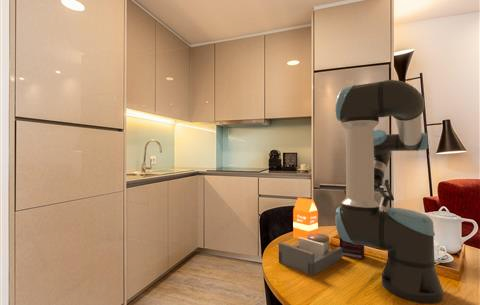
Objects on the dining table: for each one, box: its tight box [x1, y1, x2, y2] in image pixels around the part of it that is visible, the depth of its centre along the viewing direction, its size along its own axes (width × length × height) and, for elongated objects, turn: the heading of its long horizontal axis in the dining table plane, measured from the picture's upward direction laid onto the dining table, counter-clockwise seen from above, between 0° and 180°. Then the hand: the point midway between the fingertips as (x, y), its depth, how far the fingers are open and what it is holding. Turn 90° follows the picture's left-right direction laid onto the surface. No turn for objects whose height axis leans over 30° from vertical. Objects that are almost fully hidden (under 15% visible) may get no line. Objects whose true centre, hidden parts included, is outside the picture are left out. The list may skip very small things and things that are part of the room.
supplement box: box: [339, 237, 365, 260], centre depth 97 cm, size 9×5×16 cm, turn 58°
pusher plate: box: [297, 237, 325, 259], centre depth 92 cm, size 10×1×7 cm, turn 41°
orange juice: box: [292, 197, 319, 240], centre depth 118 cm, size 8×9×20 cm
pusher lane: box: [278, 242, 343, 277], centre depth 92 cm, size 14×21×8 cm, turn 131°
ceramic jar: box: [307, 232, 330, 253], centre depth 95 cm, size 8×8×8 cm
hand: (362, 209), depth 104 cm, fingers open, 13 cm apart
